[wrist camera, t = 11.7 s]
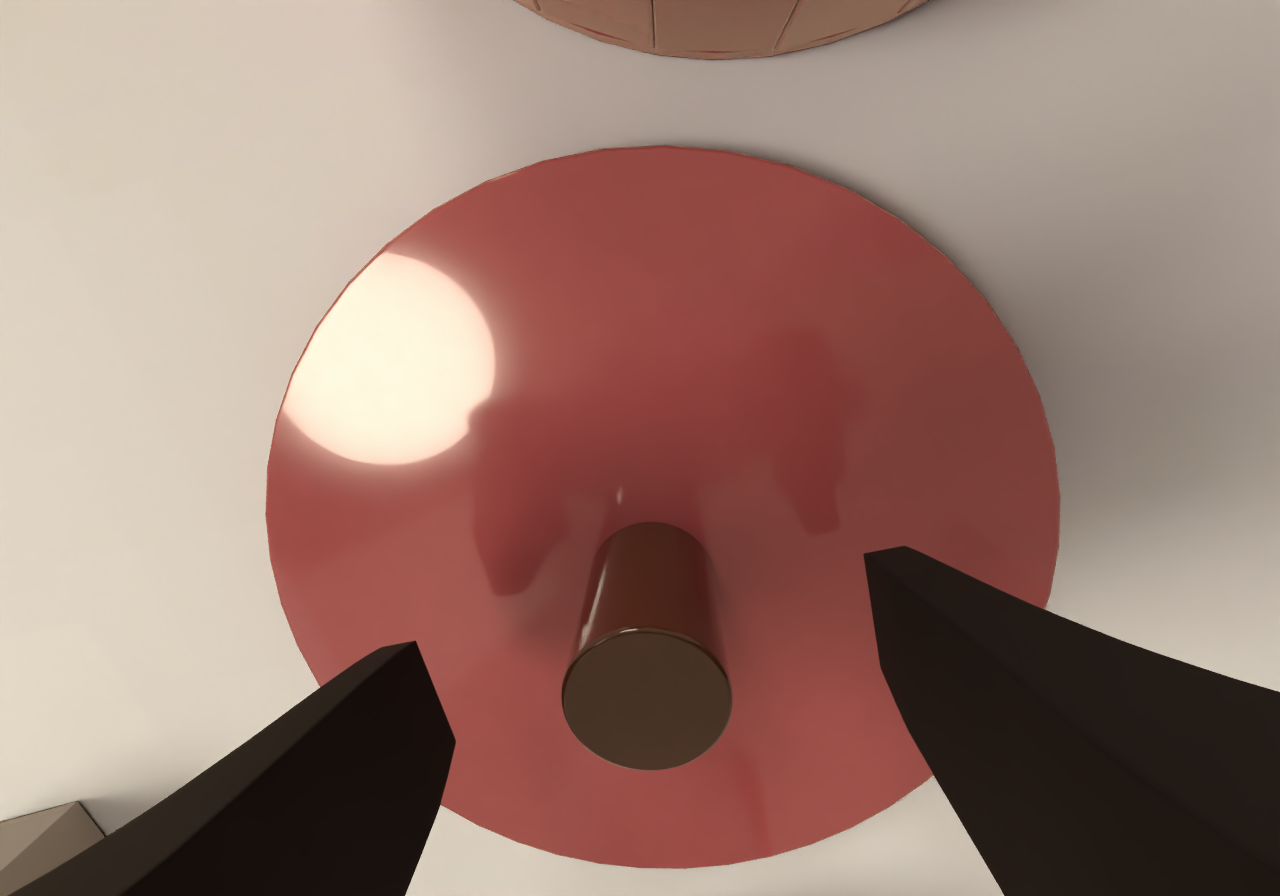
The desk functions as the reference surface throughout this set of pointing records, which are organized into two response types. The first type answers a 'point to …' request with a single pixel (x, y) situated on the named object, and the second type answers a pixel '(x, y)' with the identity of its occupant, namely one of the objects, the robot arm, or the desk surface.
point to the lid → (654, 493)
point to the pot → (719, 23)
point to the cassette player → (42, 843)
